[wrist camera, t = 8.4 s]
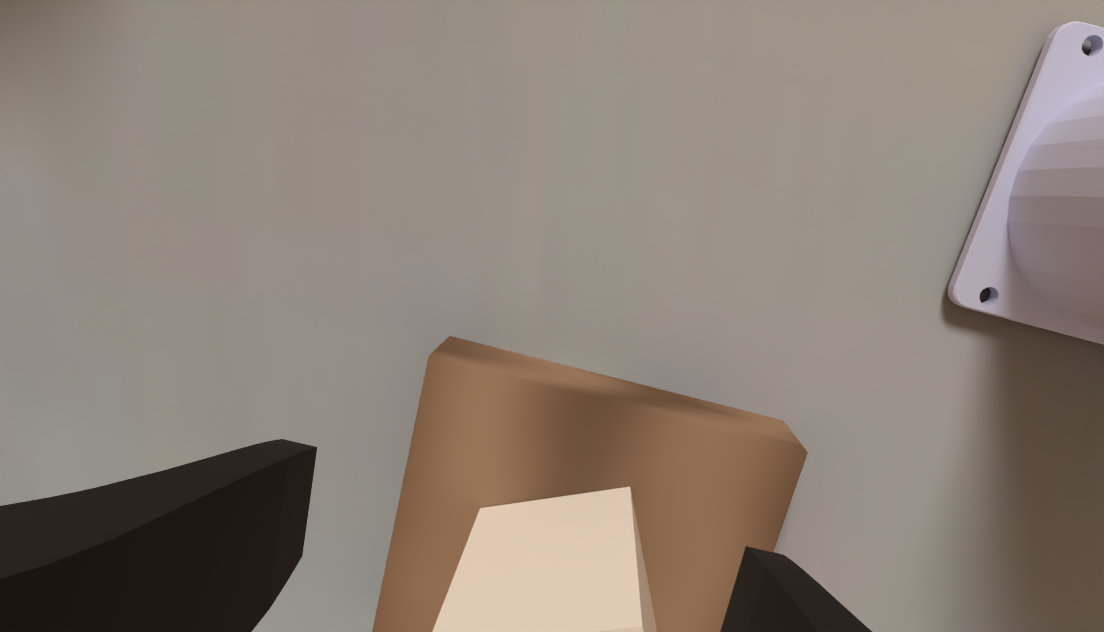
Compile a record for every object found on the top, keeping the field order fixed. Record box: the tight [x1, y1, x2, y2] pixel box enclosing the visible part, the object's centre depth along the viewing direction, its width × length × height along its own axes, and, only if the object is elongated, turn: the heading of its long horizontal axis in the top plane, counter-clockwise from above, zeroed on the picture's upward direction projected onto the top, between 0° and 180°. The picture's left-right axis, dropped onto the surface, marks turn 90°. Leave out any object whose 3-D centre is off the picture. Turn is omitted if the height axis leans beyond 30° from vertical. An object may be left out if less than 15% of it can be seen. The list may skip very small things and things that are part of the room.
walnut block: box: [372, 336, 808, 632], centre depth 21 cm, size 11×11×3 cm
